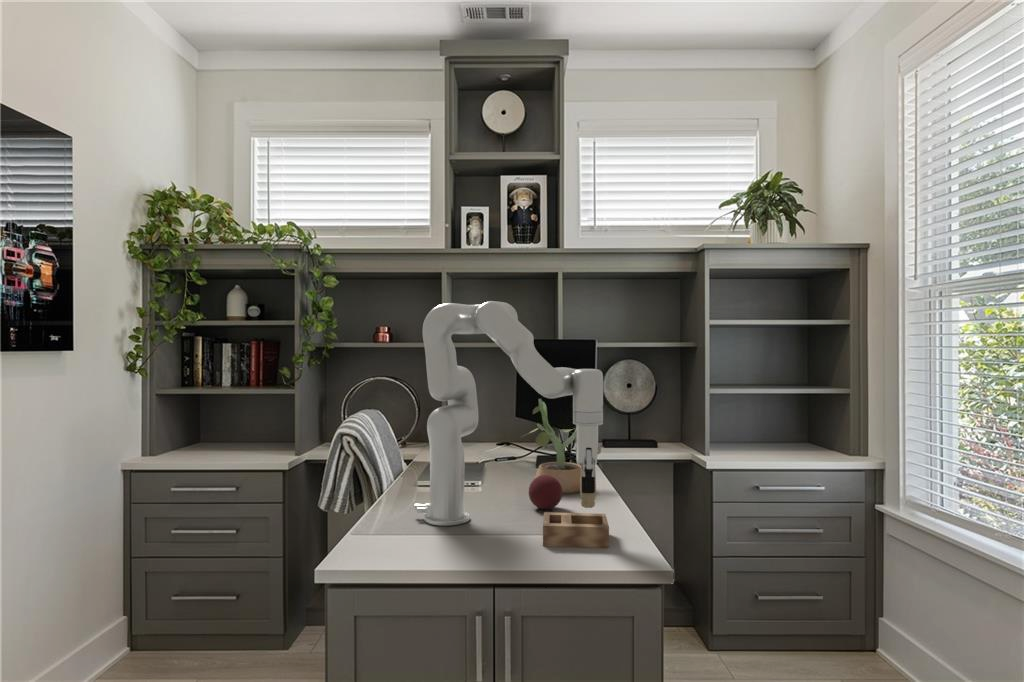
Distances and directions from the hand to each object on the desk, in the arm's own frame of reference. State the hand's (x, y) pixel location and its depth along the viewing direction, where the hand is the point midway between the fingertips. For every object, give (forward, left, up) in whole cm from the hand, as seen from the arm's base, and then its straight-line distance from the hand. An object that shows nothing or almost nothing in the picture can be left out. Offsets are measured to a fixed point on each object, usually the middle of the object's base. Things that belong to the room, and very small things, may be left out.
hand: (587, 489), depth 163 cm
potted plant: (-9, +55, -13) cm, 57 cm away
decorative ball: (-11, +28, -13) cm, 33 cm away
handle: (0, 0, -4) cm, 4 cm away
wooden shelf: (-3, 0, -13) cm, 13 cm away
